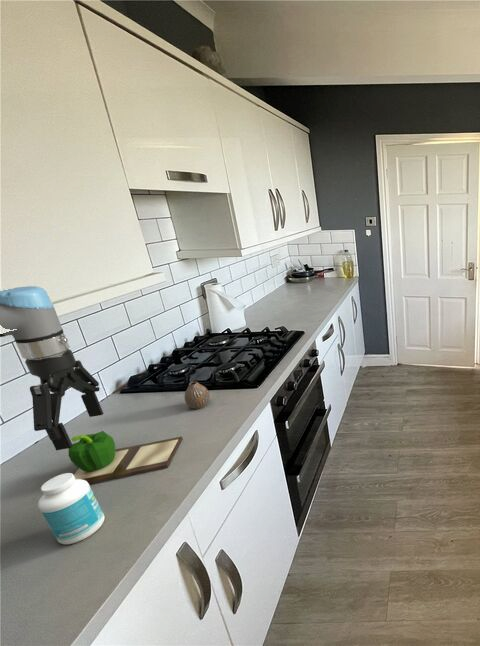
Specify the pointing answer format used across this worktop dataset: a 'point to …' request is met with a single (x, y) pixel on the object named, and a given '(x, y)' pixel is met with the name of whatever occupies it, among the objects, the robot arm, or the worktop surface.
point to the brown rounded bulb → (196, 395)
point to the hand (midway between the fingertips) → (81, 430)
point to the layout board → (134, 461)
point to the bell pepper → (92, 451)
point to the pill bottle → (70, 508)
